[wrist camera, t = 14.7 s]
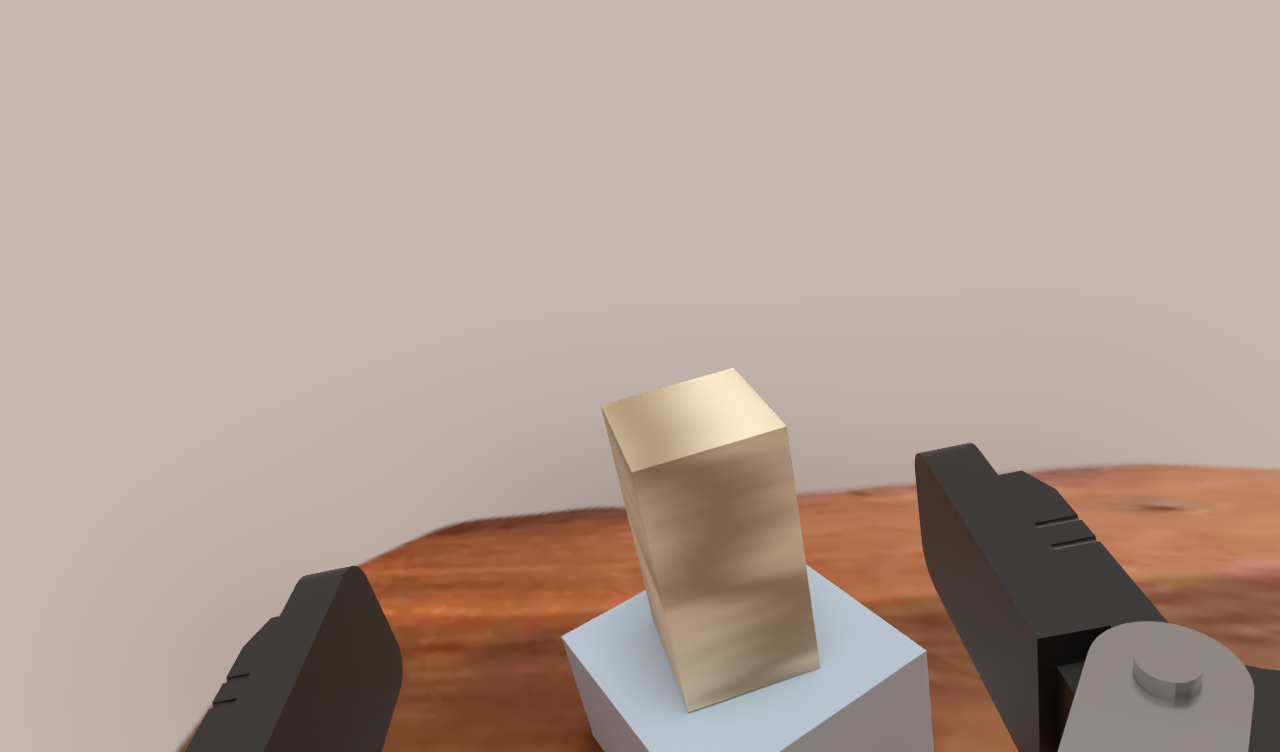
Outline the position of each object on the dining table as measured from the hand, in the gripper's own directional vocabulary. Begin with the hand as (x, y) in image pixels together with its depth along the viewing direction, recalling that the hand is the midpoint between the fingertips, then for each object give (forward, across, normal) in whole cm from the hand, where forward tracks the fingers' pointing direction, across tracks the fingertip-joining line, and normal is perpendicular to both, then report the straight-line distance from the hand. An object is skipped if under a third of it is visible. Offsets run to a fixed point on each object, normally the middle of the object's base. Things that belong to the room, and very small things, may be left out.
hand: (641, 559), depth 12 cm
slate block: (+14, 0, +22) cm, 26 cm away
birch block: (+14, 0, +16) cm, 22 cm away
